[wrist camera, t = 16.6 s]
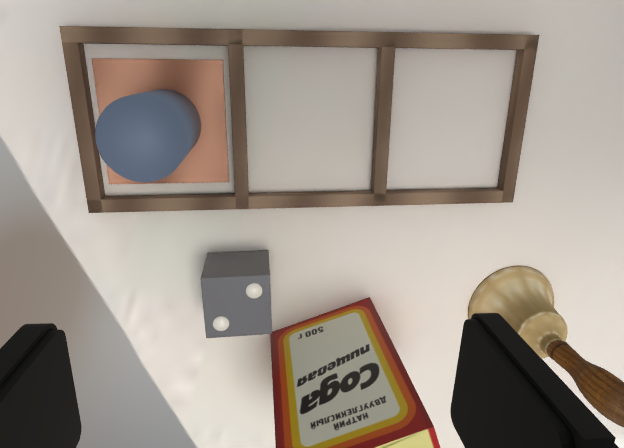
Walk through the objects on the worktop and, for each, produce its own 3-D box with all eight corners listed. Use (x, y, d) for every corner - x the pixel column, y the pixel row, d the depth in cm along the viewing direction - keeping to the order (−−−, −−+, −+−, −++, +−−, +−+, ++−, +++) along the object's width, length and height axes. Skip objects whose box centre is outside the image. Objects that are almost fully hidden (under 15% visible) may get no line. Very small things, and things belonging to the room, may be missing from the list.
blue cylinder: (199, 89, 33) (182, 95, 25) (202, 157, 35) (188, 182, 27) (127, 88, 32) (89, 94, 25) (135, 157, 34) (101, 182, 27)
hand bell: (455, 291, 41) (568, 417, 26) (537, 250, 41) (700, 354, 26) (483, 357, 44) (600, 505, 29) (561, 319, 44) (720, 449, 29)
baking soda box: (369, 297, 40) (436, 431, 25) (388, 354, 43) (459, 509, 28) (270, 332, 40) (277, 487, 25) (294, 388, 43) (314, 561, 28)
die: (268, 249, 38) (269, 275, 33) (270, 302, 40) (272, 334, 35) (207, 252, 37) (200, 279, 33) (212, 305, 39) (206, 338, 34)
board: (531, 35, 35) (539, 34, 34) (506, 199, 39) (512, 202, 38) (65, 27, 31) (59, 25, 30) (93, 208, 35) (88, 212, 34)
